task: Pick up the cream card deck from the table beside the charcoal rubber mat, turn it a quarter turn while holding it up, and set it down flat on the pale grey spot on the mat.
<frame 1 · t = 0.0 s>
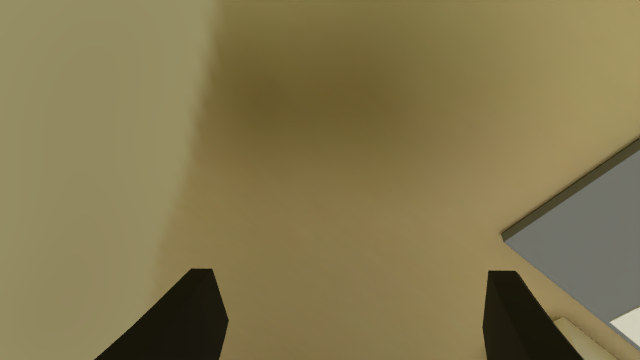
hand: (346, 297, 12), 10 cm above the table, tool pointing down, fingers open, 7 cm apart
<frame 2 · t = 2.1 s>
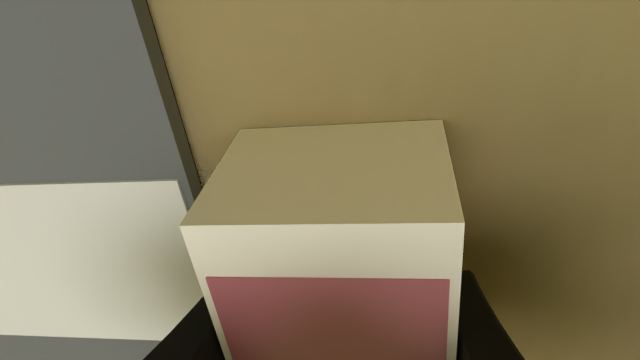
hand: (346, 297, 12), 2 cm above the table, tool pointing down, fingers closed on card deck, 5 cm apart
card deck: (350, 255, 13), on the table, touching gripper
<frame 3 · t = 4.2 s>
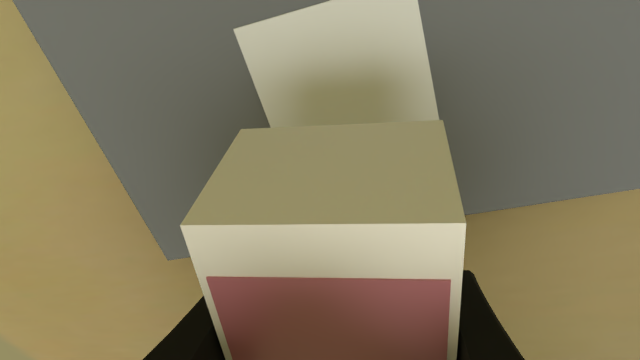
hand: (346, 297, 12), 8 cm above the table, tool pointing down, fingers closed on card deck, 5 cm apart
card deck: (351, 256, 13), point 7 cm above the table, touching gripper
mat: (327, 21, 16), on the table
when the fingers open (3 cm above the table, at t = 6.1 s): card deck drops 1 cm, resting on mat.
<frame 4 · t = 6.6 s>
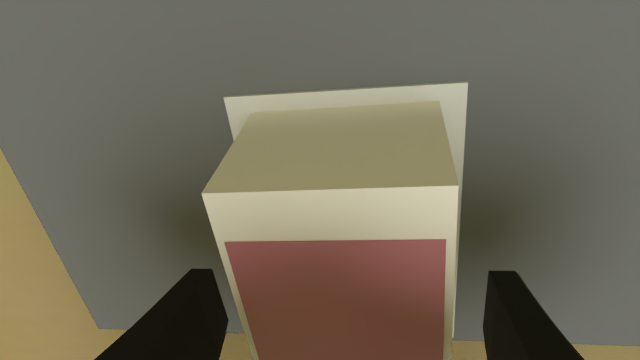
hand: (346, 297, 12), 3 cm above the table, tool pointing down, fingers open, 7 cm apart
card deck: (355, 232, 14), point 1 cm above the table, touching mat
mat: (344, 106, 13), on the table
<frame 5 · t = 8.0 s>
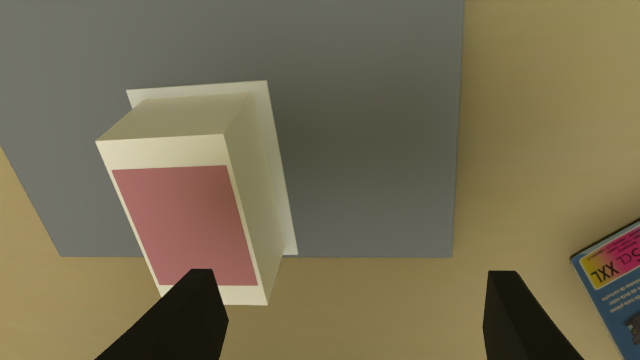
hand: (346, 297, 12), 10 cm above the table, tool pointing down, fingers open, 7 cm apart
card deck: (220, 178, 22), point 1 cm above the table, touching mat
mat: (204, 95, 20), on the table
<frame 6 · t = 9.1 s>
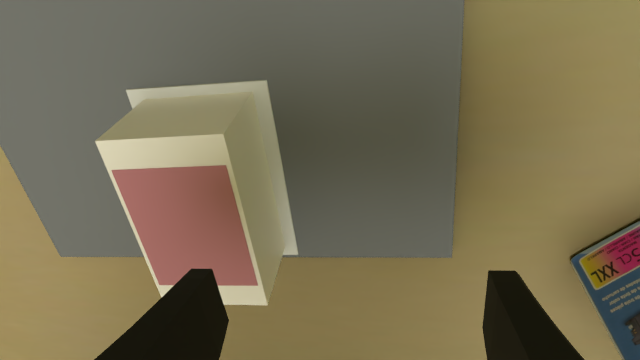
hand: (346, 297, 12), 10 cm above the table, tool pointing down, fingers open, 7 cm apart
card deck: (220, 178, 22), point 1 cm above the table, touching mat
mat: (204, 95, 20), on the table
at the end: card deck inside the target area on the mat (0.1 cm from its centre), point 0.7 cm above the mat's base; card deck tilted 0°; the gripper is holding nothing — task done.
